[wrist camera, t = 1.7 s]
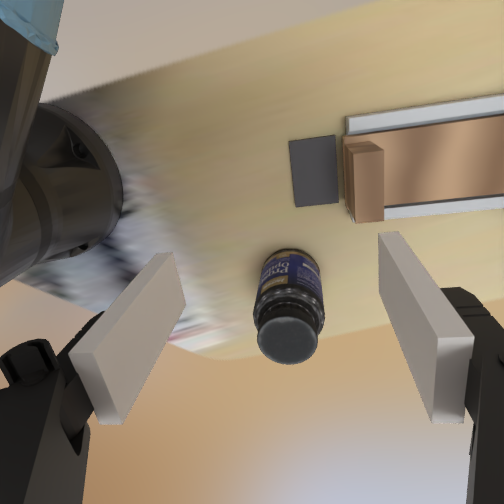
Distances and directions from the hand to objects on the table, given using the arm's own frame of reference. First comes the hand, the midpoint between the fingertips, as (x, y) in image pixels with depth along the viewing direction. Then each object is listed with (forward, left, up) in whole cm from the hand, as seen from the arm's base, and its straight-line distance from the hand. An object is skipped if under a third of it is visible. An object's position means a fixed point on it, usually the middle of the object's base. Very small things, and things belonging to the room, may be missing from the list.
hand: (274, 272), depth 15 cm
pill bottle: (+3, -10, -20) cm, 22 cm away
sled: (+15, +5, -18) cm, 24 cm away
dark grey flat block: (+2, +1, -19) cm, 20 cm away
